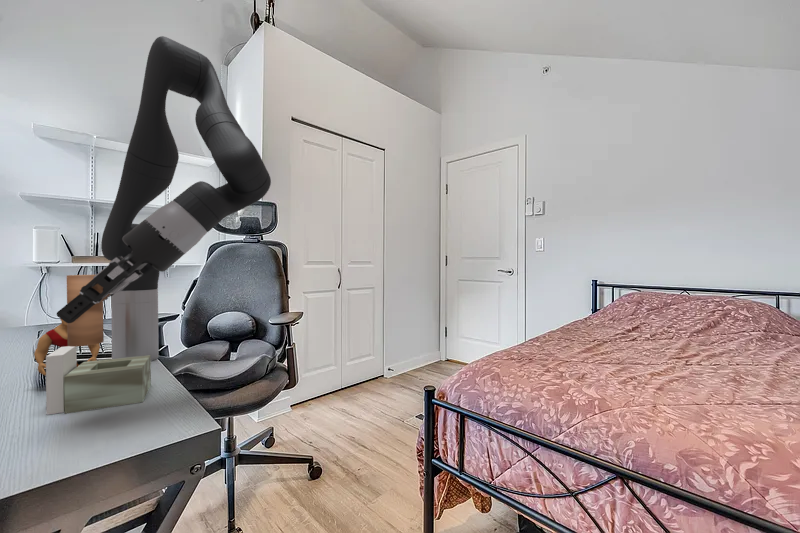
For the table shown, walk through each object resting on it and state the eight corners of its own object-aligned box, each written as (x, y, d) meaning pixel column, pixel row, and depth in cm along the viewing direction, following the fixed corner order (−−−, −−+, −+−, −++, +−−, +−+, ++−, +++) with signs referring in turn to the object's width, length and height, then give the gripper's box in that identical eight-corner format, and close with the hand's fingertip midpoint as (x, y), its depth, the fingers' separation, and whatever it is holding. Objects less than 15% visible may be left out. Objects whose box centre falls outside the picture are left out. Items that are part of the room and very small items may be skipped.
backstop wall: (61, 398, 63) (61, 346, 63) (76, 396, 64) (76, 345, 64) (46, 414, 56) (45, 356, 56) (63, 412, 57) (63, 354, 57)
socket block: (84, 395, 66) (83, 361, 66) (150, 386, 70) (150, 355, 70) (64, 415, 57) (64, 376, 57) (142, 403, 62) (142, 367, 62)
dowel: (71, 342, 54) (70, 275, 54) (105, 339, 56) (104, 274, 56) (64, 347, 51) (63, 275, 51) (101, 344, 53) (100, 275, 53)
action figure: (32, 393, 66) (31, 310, 66) (35, 388, 69) (34, 308, 69) (100, 382, 72) (99, 306, 72) (100, 378, 75) (99, 305, 75)
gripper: (151, 222, 63) (58, 295, 57) (141, 212, 51) (22, 304, 45) (186, 253, 66) (101, 326, 60) (185, 251, 54) (78, 342, 48)
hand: (68, 316), depth 53 cm, fingers closed on dowel, 4 cm apart
